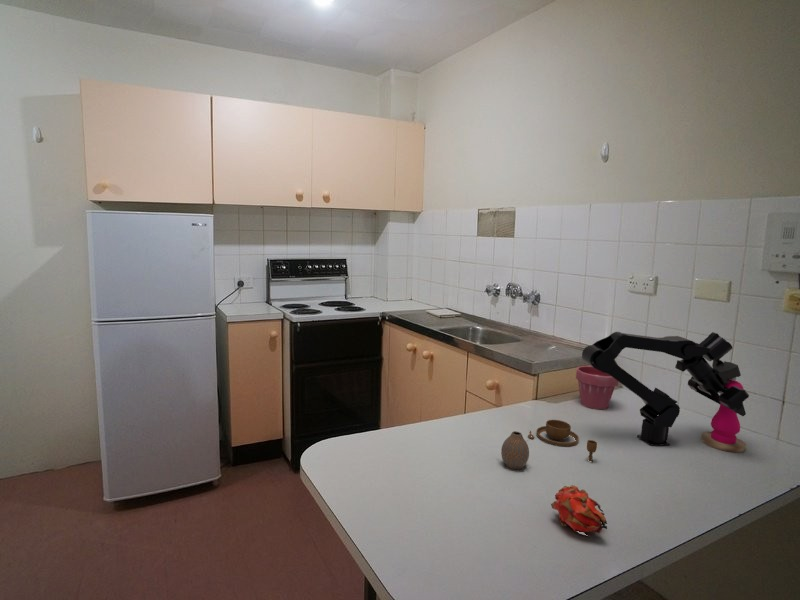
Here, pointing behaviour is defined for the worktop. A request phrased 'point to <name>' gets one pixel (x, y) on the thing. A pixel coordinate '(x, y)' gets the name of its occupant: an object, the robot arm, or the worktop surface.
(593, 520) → the dragon fruit
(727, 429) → the pepper mill
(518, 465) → the vase
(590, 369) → the plant pot
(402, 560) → the worktop surface
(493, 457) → the worktop surface
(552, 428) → the place setting
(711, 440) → the walnut base
